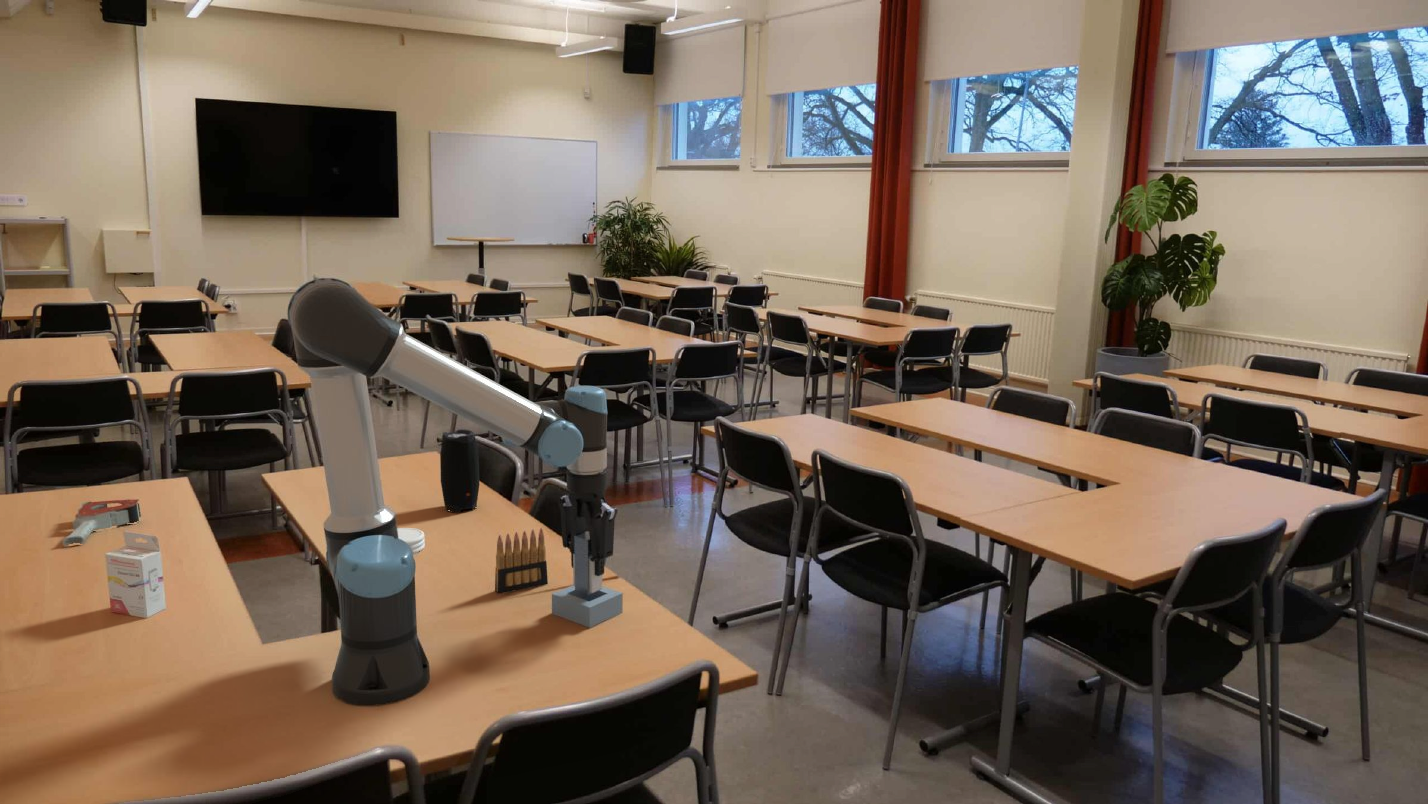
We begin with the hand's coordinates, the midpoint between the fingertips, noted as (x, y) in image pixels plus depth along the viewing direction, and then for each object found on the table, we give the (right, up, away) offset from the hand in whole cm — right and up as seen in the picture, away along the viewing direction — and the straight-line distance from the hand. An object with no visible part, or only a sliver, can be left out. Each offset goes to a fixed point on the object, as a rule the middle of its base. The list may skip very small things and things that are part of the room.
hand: (587, 587), depth 192 cm
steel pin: (0, -1, 0) cm, 1 cm away
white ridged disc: (-46, +2, +33) cm, 56 cm away
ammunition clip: (-15, -3, +13) cm, 20 cm away
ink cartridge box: (-84, -4, -3) cm, 84 cm away
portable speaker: (-40, +8, +62) cm, 74 cm away
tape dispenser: (-119, +5, +40) cm, 125 cm away
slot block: (0, -5, +1) cm, 5 cm away
